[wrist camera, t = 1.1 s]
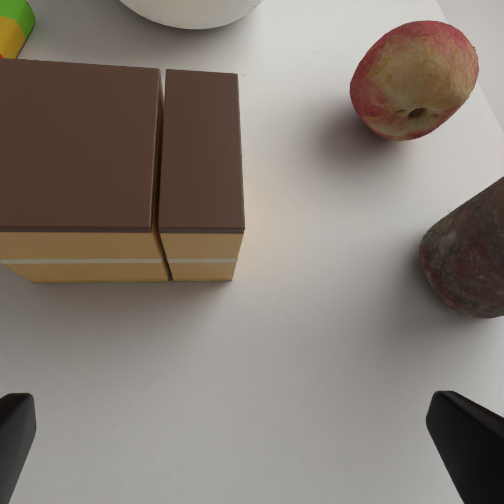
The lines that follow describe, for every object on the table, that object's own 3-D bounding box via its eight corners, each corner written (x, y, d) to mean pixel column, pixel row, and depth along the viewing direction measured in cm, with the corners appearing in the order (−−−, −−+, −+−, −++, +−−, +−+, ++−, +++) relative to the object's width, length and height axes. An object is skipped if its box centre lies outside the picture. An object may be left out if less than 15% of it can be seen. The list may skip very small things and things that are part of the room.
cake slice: (232, 281, 22) (245, 229, 15) (173, 281, 22) (157, 228, 14) (227, 125, 27) (236, 26, 19) (178, 123, 26) (168, 20, 19)
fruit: (324, 137, 28) (367, 46, 20) (352, 75, 31) (399, -24, 23) (414, 176, 27) (492, 98, 20) (434, 110, 30) (507, 21, 23)
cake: (169, 281, 22) (150, 228, 14) (32, 283, 21) (-64, 226, 13) (173, 161, 25) (160, 67, 18) (55, 157, 24) (-12, 55, 17)
